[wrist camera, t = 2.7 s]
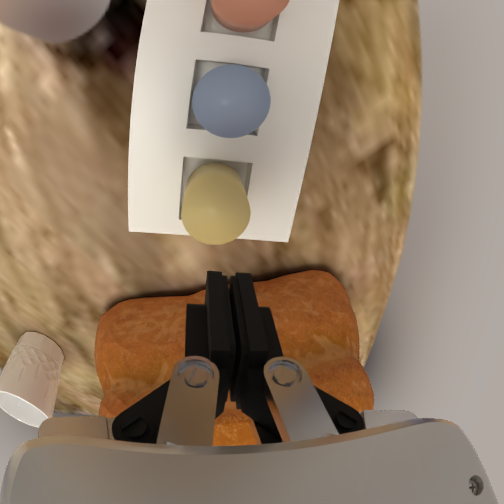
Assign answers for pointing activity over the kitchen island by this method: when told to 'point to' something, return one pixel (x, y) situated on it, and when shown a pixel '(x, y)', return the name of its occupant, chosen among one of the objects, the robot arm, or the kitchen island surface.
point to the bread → (288, 329)
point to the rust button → (246, 13)
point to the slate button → (231, 101)
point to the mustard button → (215, 204)
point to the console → (207, 144)
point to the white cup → (31, 379)
